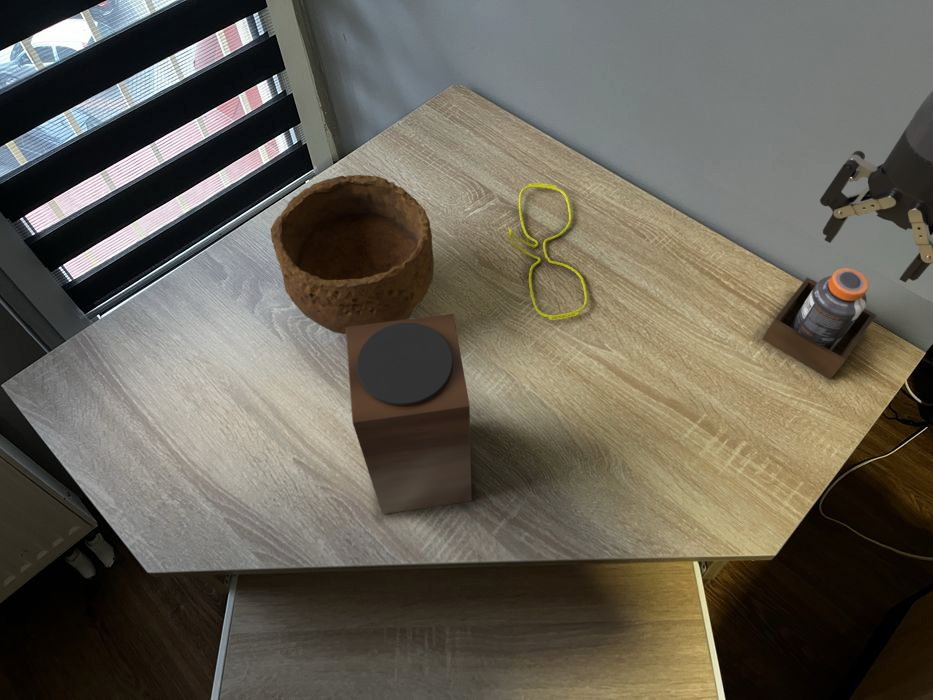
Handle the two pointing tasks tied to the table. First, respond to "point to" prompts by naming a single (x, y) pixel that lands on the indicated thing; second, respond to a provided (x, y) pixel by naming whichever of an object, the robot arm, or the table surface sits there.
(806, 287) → the brown wooden square box
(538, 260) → the glasses
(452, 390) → the stand
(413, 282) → the bowl
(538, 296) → the table surface
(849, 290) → the pill bottle
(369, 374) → the coaster
